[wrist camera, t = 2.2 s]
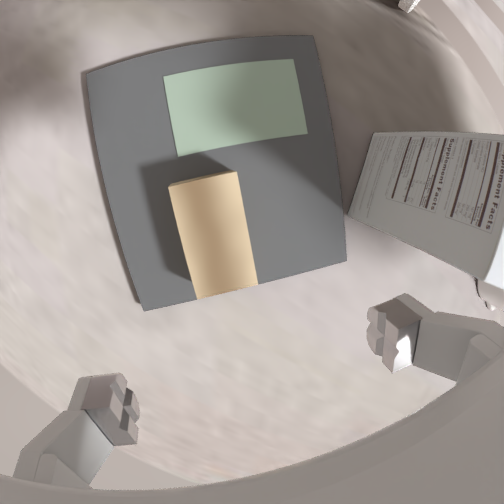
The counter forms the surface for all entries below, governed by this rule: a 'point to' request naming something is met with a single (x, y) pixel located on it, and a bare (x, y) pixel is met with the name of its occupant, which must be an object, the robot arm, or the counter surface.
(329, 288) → the counter surface
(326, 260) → the rubber mat
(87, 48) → the counter surface
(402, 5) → the spread jar
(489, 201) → the supplement box
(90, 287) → the counter surface
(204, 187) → the maple card box
